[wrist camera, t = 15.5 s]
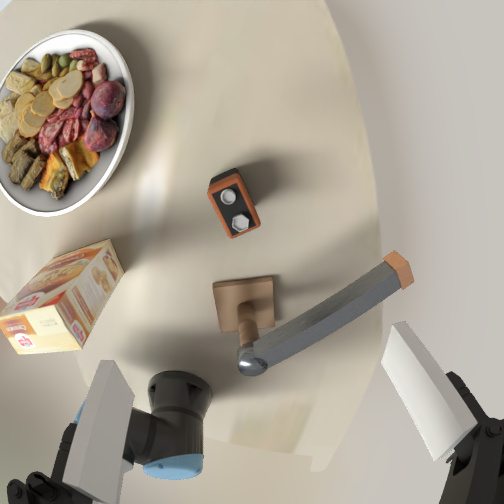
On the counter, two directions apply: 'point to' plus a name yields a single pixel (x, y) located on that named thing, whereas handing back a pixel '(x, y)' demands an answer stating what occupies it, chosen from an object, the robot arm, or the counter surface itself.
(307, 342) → the swing arm
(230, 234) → the battery
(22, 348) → the coffeecake box
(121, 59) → the bowl
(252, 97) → the counter surface
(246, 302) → the arm post
